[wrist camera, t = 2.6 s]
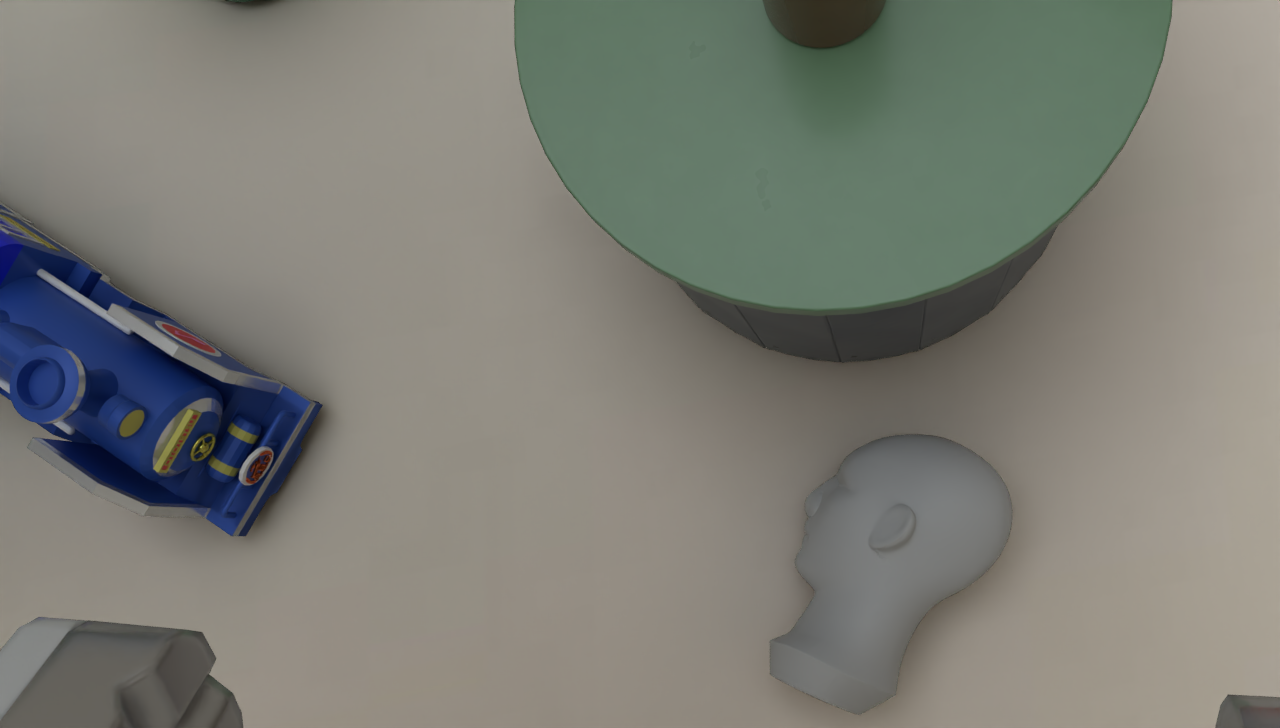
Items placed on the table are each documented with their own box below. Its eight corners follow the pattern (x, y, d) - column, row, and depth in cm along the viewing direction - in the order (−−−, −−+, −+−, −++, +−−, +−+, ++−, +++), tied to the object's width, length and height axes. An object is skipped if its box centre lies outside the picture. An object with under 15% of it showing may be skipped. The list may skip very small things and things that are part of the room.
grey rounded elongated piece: (902, 416, 35) (1052, 514, 33) (742, 634, 35) (878, 750, 33) (864, 370, 32) (1029, 476, 29) (685, 613, 32) (833, 742, 29)
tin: (631, 362, 36) (527, 295, 26) (649, -38, 38) (558, -248, 28) (1069, 368, 34) (1144, 297, 23) (1068, -62, 35) (1138, -303, 25)
